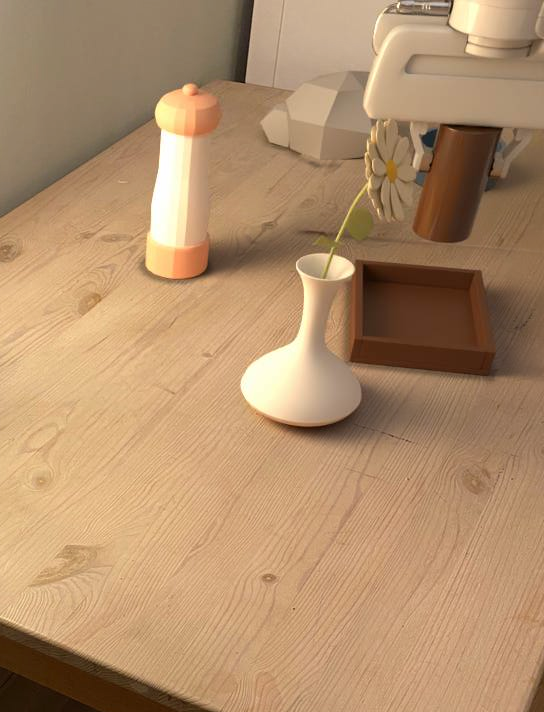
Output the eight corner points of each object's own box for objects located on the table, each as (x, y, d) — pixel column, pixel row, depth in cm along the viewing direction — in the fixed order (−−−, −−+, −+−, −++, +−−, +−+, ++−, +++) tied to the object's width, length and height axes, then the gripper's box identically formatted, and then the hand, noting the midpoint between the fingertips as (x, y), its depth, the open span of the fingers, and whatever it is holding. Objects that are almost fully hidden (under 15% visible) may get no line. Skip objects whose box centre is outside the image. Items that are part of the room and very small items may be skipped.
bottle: (468, 221, 95) (515, 68, 85) (472, 245, 92) (522, 88, 82) (411, 216, 96) (450, 64, 86) (413, 240, 92) (454, 84, 82)
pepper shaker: (163, 284, 108) (176, 101, 94) (134, 257, 113) (143, 79, 99) (218, 271, 110) (239, 90, 96) (188, 245, 115) (203, 69, 101)
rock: (238, 141, 137) (247, 66, 130) (322, 107, 146) (334, 36, 139) (342, 177, 128) (357, 99, 121) (424, 138, 137) (443, 64, 130)
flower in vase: (292, 452, 86) (351, 166, 68) (214, 394, 93) (249, 118, 74) (395, 408, 91) (476, 129, 72) (314, 355, 97) (370, 88, 79)
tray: (474, 292, 106) (481, 270, 104) (487, 375, 95) (496, 352, 93) (350, 281, 108) (355, 259, 106) (349, 361, 97) (354, 338, 95)
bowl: (490, 168, 130) (502, 129, 126) (497, 201, 122) (510, 161, 119) (406, 162, 131) (415, 123, 128) (408, 195, 124) (418, 155, 120)
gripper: (381, 6, 79) (346, 177, 89) (641, 19, 76) (574, 195, 86) (380, -13, 83) (347, 152, 93) (627, -2, 80) (565, 168, 90)
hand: (458, 173), depth 90 cm, fingers closed on bottle, 5 cm apart
